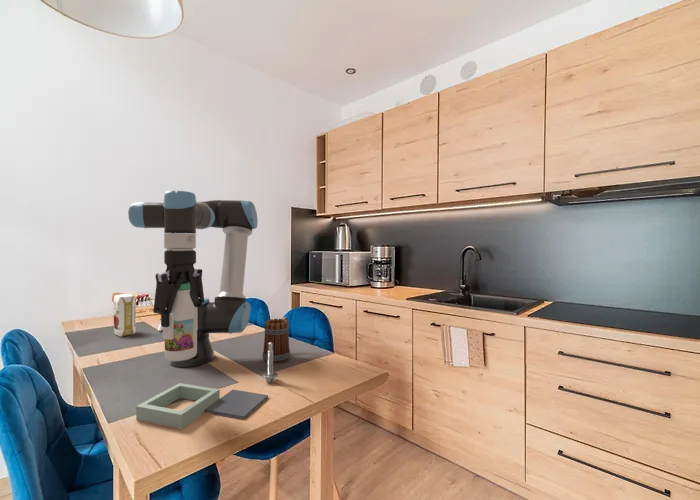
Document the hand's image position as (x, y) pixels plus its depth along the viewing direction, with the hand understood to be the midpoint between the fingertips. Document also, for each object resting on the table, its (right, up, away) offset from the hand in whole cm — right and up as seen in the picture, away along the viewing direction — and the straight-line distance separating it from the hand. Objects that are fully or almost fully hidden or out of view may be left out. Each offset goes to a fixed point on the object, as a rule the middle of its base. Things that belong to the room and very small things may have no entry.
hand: (181, 334), depth 86 cm
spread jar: (-46, -19, +77) cm, 92 cm away
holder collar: (0, -21, 0) cm, 21 cm away
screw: (+19, -21, +19) cm, 34 cm away
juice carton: (-64, -18, +69) cm, 96 cm away
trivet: (+14, -21, +3) cm, 25 cm away
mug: (+17, -20, +41) cm, 49 cm away
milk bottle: (0, -6, 0) cm, 6 cm away
